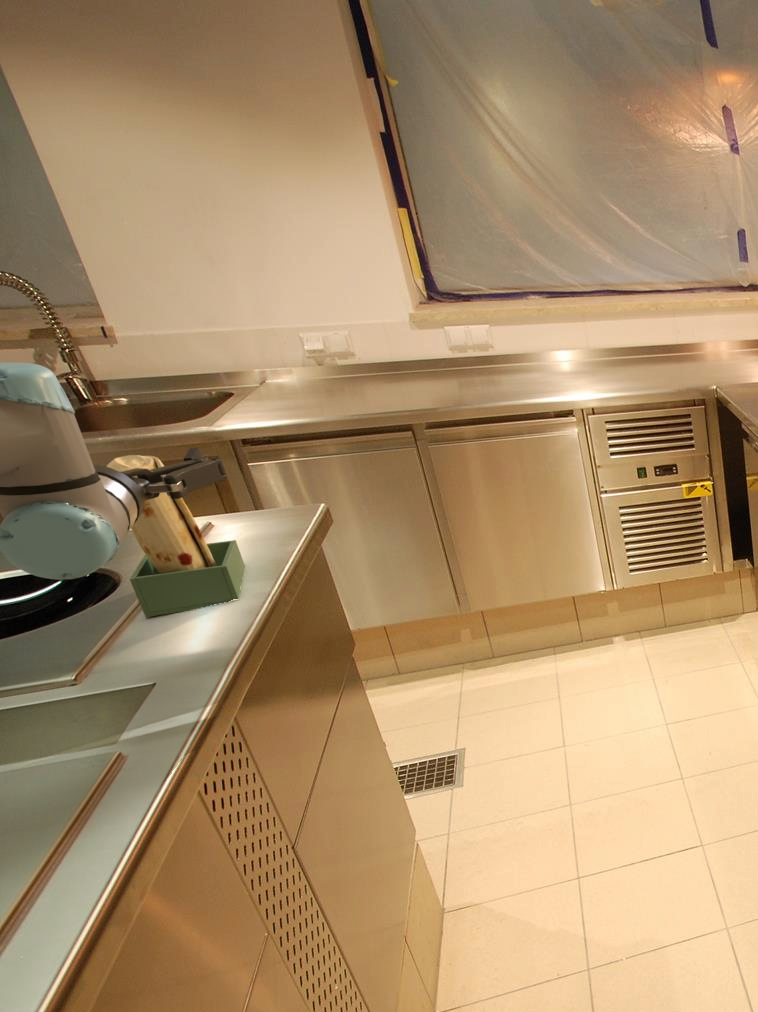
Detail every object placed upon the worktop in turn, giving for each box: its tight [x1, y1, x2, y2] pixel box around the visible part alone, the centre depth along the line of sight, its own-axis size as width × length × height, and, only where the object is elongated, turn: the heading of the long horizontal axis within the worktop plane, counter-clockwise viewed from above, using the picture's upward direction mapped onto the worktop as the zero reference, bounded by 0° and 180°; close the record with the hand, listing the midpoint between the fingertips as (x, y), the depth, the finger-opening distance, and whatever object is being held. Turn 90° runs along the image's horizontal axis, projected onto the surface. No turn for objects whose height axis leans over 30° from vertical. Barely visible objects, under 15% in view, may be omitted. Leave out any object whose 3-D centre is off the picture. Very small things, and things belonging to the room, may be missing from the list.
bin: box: [129, 540, 246, 618], centre depth 121 cm, size 10×13×6 cm
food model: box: [106, 454, 217, 574], centre depth 116 cm, size 10×7×20 cm
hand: (128, 463), depth 106 cm, fingers open, 13 cm apart
